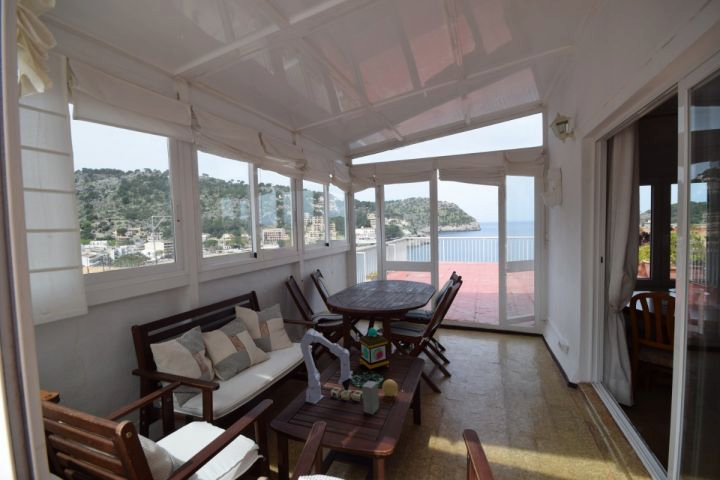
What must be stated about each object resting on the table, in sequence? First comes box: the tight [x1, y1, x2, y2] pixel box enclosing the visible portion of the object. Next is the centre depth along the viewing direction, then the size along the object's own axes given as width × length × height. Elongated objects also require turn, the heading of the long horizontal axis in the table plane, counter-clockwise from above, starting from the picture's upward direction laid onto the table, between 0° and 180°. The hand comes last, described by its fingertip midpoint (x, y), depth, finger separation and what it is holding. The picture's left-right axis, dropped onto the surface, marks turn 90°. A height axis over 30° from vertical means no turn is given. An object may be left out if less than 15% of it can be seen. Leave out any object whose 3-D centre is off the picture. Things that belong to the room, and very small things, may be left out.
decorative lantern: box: [358, 327, 390, 373], centre depth 242 cm, size 20×20×30 cm
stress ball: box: [381, 378, 399, 397], centre depth 201 cm, size 10×10×10 cm
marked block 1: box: [330, 386, 343, 399], centre depth 204 cm, size 5×5×4 cm
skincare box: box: [361, 380, 380, 415], centre depth 187 cm, size 8×7×16 cm
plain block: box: [340, 389, 353, 401], centre depth 201 cm, size 5×5×4 cm
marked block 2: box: [351, 389, 363, 402], centre depth 199 cm, size 5×5×4 cm
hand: (346, 389), depth 201 cm, fingers closed
